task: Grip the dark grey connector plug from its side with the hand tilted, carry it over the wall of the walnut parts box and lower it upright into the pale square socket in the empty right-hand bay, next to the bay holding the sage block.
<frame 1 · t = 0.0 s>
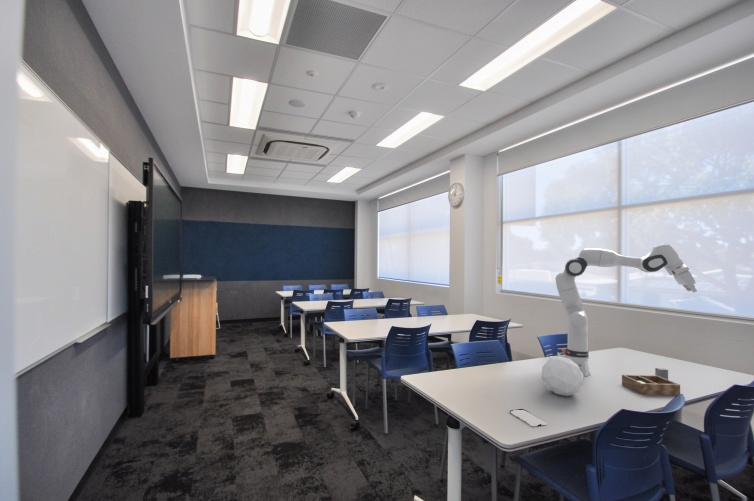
hand: (692, 291, 195), 54 cm above the table, tool tilted 30°, fingers open, 8 cm apart
geometric polyhedron: (561, 394, 182), on the table
sage block: (639, 389, 190), point 1 cm above the table, touching parts box
ink cartridge box: (555, 378, 208), on the table
connector: (661, 384, 200), on the table
phone: (527, 419, 152), on the table
parts box: (649, 390, 190), on the table
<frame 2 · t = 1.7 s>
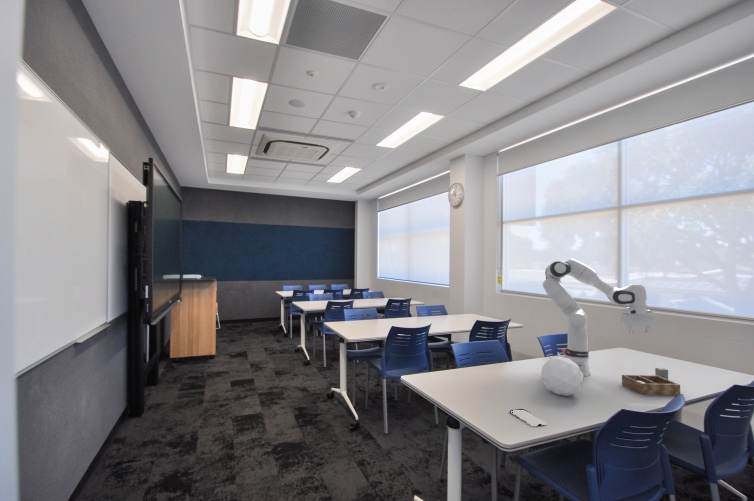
hand: (638, 332, 215), 27 cm above the table, tool pointing down, fingers open, 8 cm apart
nothing on the table moved.
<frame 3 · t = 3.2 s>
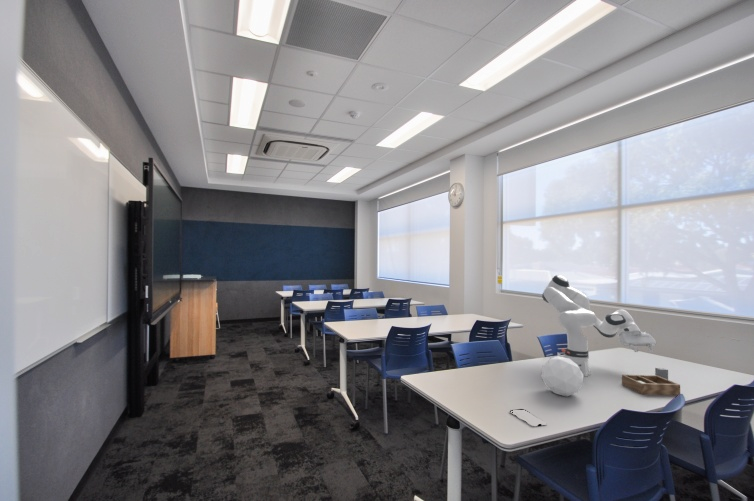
hand: (644, 351, 214), 15 cm above the table, tool tilted 45°, fingers open, 8 cm apart
nothing on the table moved.
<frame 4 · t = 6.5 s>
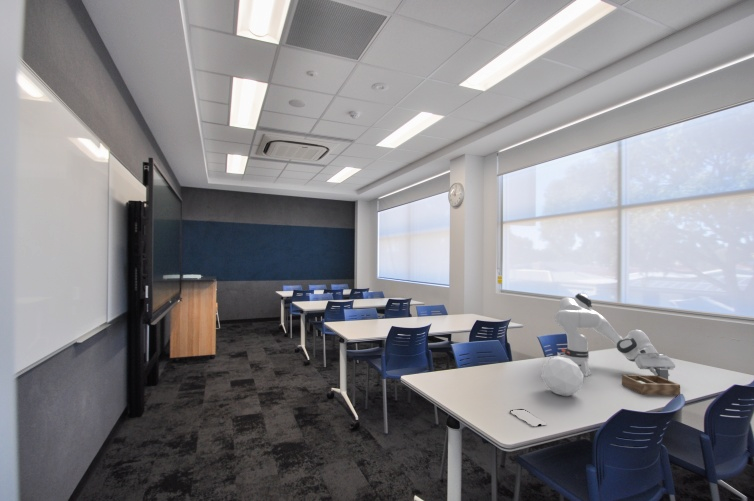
hand: (662, 375, 200), 5 cm above the table, tool tilted 45°, fingers closed on connector, 4 cm apart
connector: (661, 384, 200), on the table, touching gripper
everything else where it was.
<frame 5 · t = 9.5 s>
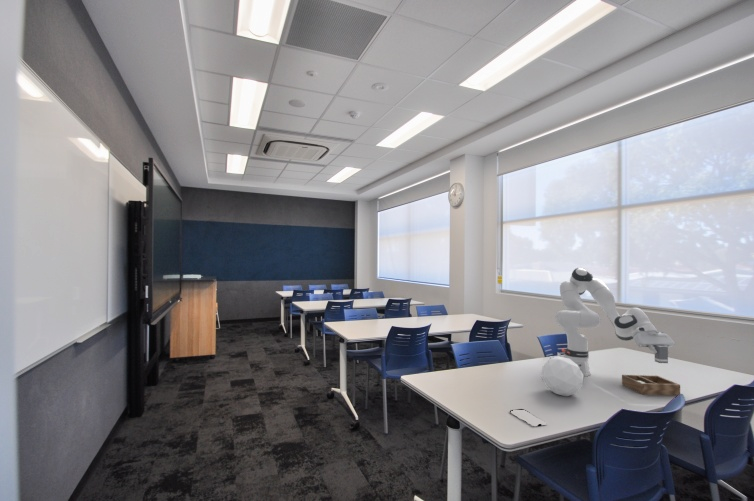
hand: (662, 353, 193), 20 cm above the table, tool tilted 45°, fingers closed on connector, 4 cm apart
connector: (661, 362, 194), point 15 cm above the table, touching gripper
everything else where it was.
when the fingers open (7 cm above the table, at t = 12.7 s): connector drops 2 cm, resting on parts box.
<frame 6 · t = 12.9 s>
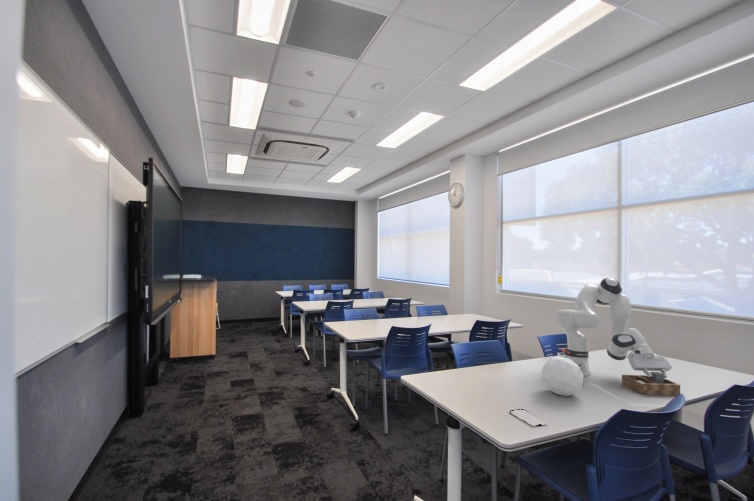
hand: (658, 377, 189), 7 cm above the table, tool tilted 45°, fingers open, 6 cm apart
connector: (657, 389, 190), point 1 cm above the table, touching parts box
everything else where it was.
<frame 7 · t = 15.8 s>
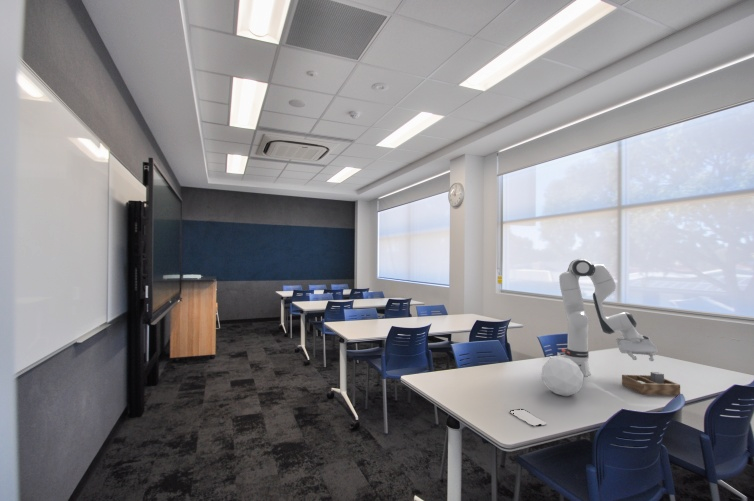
hand: (643, 360, 201), 14 cm above the table, tool tilted 45°, fingers open, 8 cm apart
nothing on the table moved.
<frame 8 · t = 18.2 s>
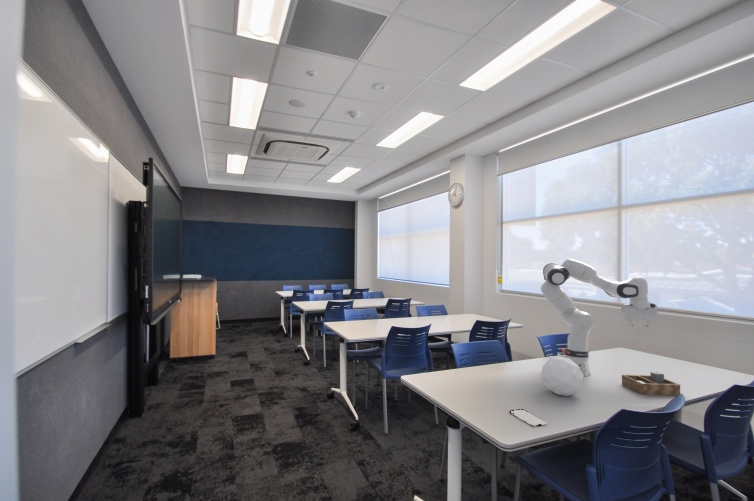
hand: (638, 327, 209), 31 cm above the table, tool pointing down, fingers open, 8 cm apart
nothing on the table moved.
at the end: connector 0.1 cm from the target spot on the parts box, point 0.6 cm above the parts box's base; connector tilted 0°; the gripper is holding nothing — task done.
